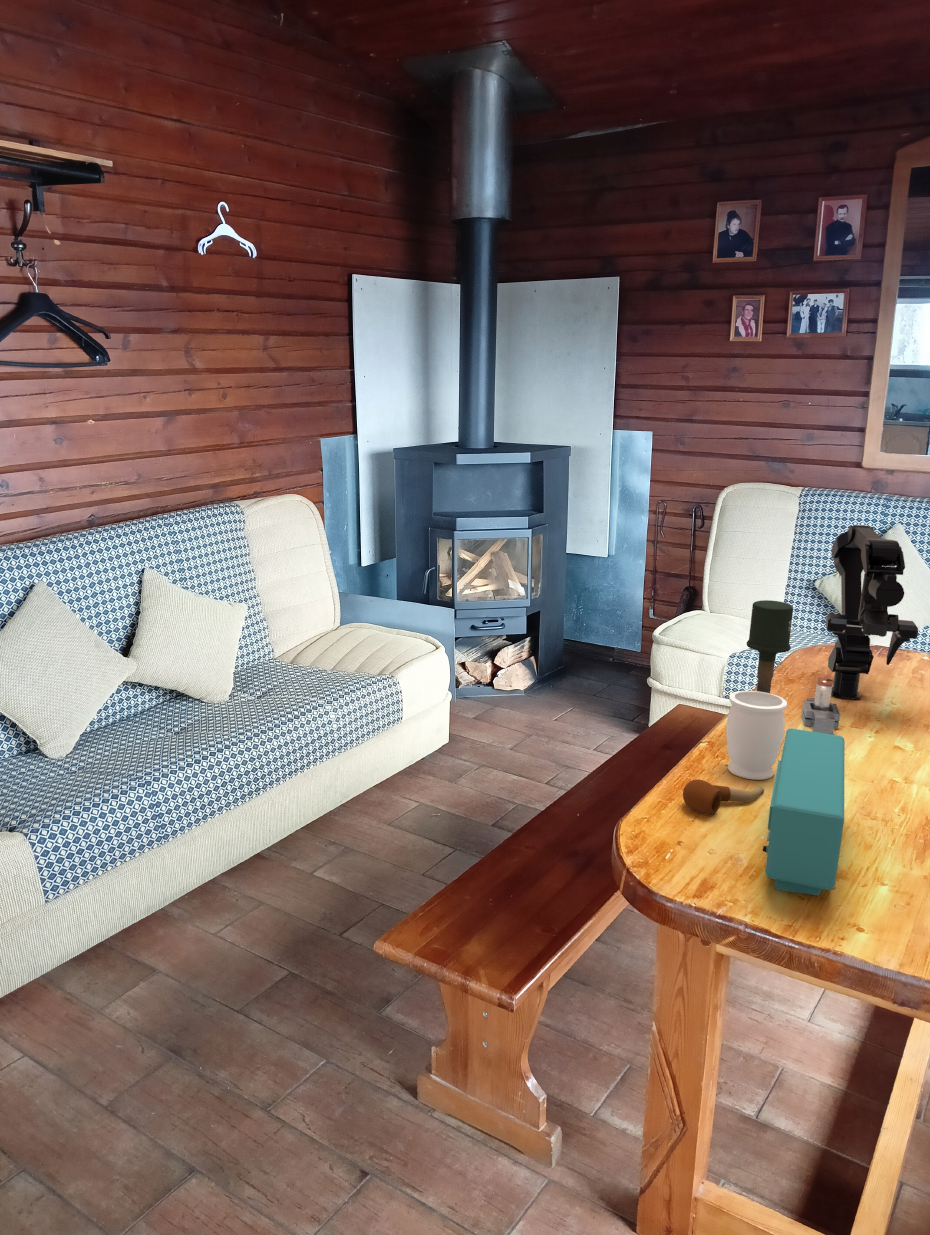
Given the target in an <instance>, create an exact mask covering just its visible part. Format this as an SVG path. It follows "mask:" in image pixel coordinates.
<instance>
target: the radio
mask: <svg viewBox="0 0 930 1235" xmlns="http://www.w3.org/2000/svg"><path fill="white" fill-rule="evenodd" d="M785 731H786V733H785V735H784V742H783V746H782V747H783V749H782V753H781V758H780V760H778V762H777V766H776V767H777V768H776V771H775V778H774V784H773V788H772V794H771V800H770V804H769V811H768V812H769V813H768V822H767V830H768V832H767V833H766V834H767V835H766V841H767V842H768V844H767V845H763V847H762V852H764V853H766V861H765V862H766V863H765V871H764V873H765V875H766V877H767V878H768V879H773V880H774V883H775V884H774V885H775V890H778V891H784V892H791V893H798V894H805V895H813V896H821V893H822V890H826V891H832V890H833V889H834V888H835V886H836V879H837V873H838V867H839V859H840V853H841V852H840V851H841V845H842V838H843V831H844V824H845V751H846V749H845V743H846V742H845V738H844V737H843V736H842V735H837V734H833V735H832V734H826V733H819V732H813V730H812V731H810V730H805V729H799V728H788V729H787V730H785Z"/></svg>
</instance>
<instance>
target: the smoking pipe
mask: <svg viewBox="0 0 930 1235" xmlns="http://www.w3.org/2000/svg"><path fill="white" fill-rule="evenodd" d="M764 793H765V788H764V787H763V786H762V785H757V786H755V788H753V789H751V790H750V789H749V790H746V789H739V788H734V787H729V786H725V785H719V784H718V785H717V784H716V785H715V784H712V783H710V782H709V781H707V780H703V779H697V778H696V779H692V780H690V781H688V782H687V783H686V784H685V786H684V787H683V791H682V800H683V802H684V804H685V805H686V807H687V808H688V809H689V810H690V811H691V812H693V813H696V814H699V815H703V816H709V817H712V816H714V815H716V813H717V812H718V810H719V809H720V806H721V804H722V802H725V803H726V802H737V803H738V802H739V803H740V802H741V803H746V802H750V801H753V800H754V799H756V798H757V797H759V796H760V795H763V794H764Z"/></svg>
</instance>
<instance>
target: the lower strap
mask: <svg viewBox="0 0 930 1235" xmlns="http://www.w3.org/2000/svg"><path fill="white" fill-rule="evenodd" d="M806 701H813V702H815V697H808V698H807V699H806ZM801 718H802V722H803V726H804V727H809V728H812V720H813V718H805V714H804V710H803V708H802V710H801ZM839 725H840V721H835V724H834V730H836V729H837V730H839ZM837 730H836V731H837Z"/></svg>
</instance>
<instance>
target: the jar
mask: <svg viewBox="0 0 930 1235" xmlns="http://www.w3.org/2000/svg"><path fill="white" fill-rule="evenodd" d="M728 700H729V702H730V704H731V706H730V708H729V710H728V714H727V720H726V726H725V727H726V728H725V729H726V730H725V731H726V733H725V734H726V746H727V747H726V748H727V753H728V756H729V757H728V758H729V759H730V762H729V763H728V766H727V768H728V771H729V772H730V773H731V774H733V775H735V776H737V777H739V778H743V779H748V780H753V781H759V780H760V781H761V780H769V779H770V778H772V777H773V776H774V774H775V773H774V769H773V767H774V765H775V763H776V761H777V759H778V757H779V754H780V750H781V746H782V744H783V740H784V738H785V731H786V730H785V728H786V721H785V713H784V711H785V710H786V709H787V708H788V701H787V700H786V699H785V698H783V697H781V696H779V695H776V694H772V693H771V692H770V693H765V692H758V691H757V690H739V691H738V690H737V691H735V692H732V693H730V695H729V699H728Z"/></svg>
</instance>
